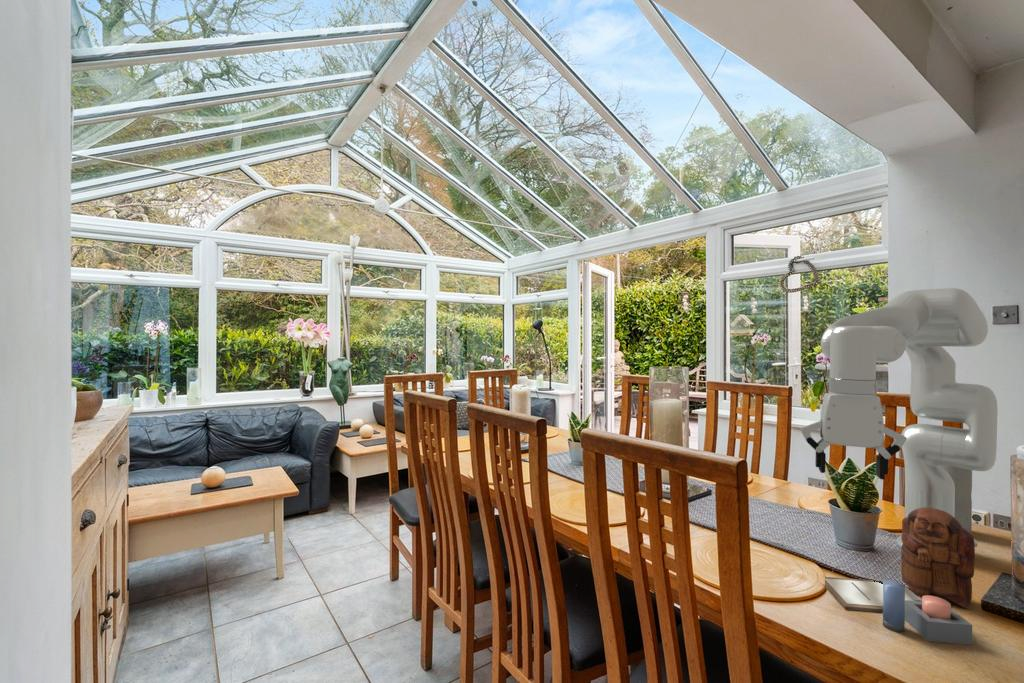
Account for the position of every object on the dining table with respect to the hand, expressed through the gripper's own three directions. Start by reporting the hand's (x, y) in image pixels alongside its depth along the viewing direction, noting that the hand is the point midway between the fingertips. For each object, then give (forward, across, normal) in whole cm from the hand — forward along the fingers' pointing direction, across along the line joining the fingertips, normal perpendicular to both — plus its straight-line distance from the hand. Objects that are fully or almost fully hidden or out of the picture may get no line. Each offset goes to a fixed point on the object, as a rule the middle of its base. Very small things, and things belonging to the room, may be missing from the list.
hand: (850, 474), depth 96 cm
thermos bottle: (+25, -34, -57) cm, 71 cm away
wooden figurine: (+27, -18, -14) cm, 35 cm away
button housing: (+27, -13, +1) cm, 30 cm away
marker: (+27, -7, +3) cm, 28 cm away
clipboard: (+27, -6, -8) cm, 28 cm away
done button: (+25, -13, +1) cm, 28 cm away
